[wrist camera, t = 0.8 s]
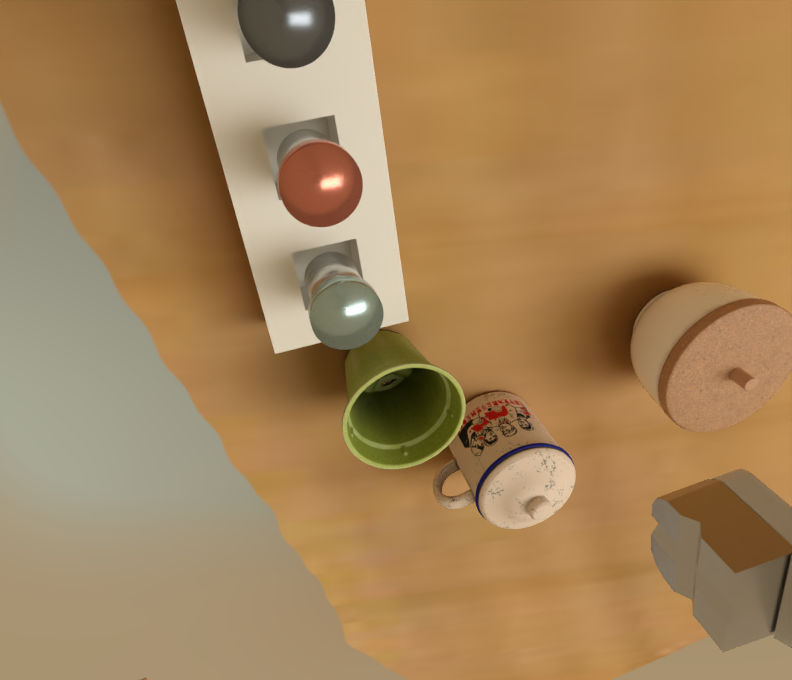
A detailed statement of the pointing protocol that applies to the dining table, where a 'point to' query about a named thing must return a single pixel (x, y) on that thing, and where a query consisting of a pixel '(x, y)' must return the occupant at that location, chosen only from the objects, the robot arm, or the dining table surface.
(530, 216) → the dining table surface
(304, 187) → the brick-red plug
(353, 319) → the plug
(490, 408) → the printed white mug
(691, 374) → the lidded bowl
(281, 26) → the plug
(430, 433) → the plant pot
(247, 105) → the block
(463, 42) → the dining table surface
